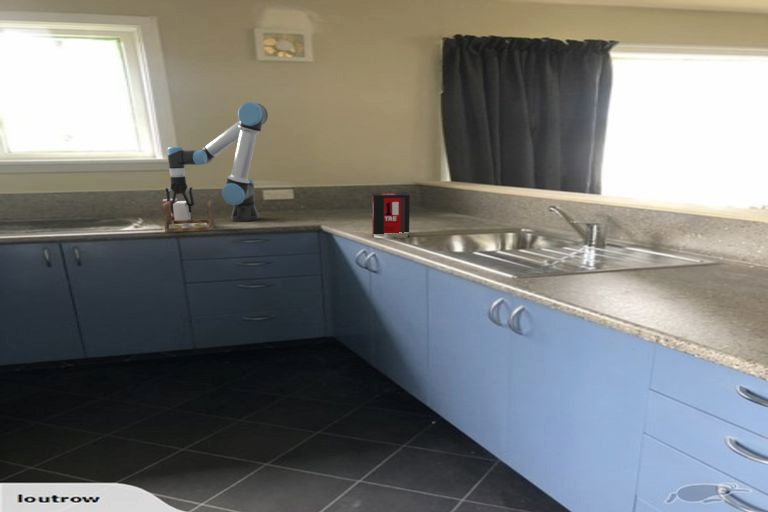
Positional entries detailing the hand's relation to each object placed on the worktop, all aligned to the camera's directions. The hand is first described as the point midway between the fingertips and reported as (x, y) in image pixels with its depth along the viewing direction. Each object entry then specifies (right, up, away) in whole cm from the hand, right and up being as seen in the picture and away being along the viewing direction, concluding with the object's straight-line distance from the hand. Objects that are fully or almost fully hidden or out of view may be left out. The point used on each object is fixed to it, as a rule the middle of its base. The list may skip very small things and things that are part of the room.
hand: (182, 218), depth 272 cm
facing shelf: (+10, -6, -15) cm, 19 cm away
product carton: (0, -1, 0) cm, 1 cm away
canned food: (-13, +2, +18) cm, 22 cm away
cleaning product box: (+113, -11, -36) cm, 119 cm away
